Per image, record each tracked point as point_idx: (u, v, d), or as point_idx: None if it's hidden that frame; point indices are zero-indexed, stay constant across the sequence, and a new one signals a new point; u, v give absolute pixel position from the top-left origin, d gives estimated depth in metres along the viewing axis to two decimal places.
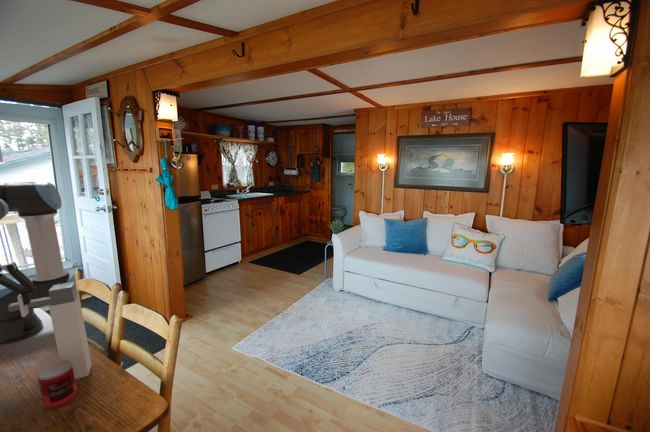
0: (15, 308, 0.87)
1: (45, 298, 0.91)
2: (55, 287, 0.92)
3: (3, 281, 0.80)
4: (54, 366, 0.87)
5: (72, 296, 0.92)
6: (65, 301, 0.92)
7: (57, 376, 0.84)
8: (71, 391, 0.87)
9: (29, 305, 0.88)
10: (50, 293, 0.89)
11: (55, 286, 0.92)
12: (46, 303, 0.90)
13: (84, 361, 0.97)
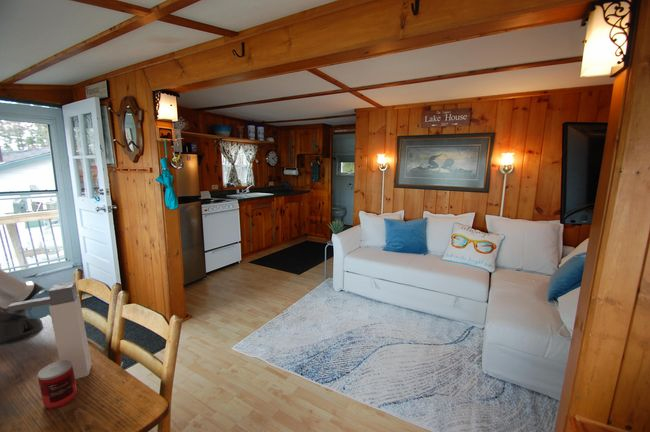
0: (15, 308, 0.87)
1: (45, 298, 0.91)
2: (55, 287, 0.92)
3: None
4: (54, 366, 0.87)
5: (72, 296, 0.92)
6: (65, 301, 0.92)
7: (57, 376, 0.84)
8: (71, 391, 0.87)
9: (29, 305, 0.88)
10: (50, 293, 0.89)
11: (55, 286, 0.92)
12: (46, 303, 0.90)
13: (84, 361, 0.97)
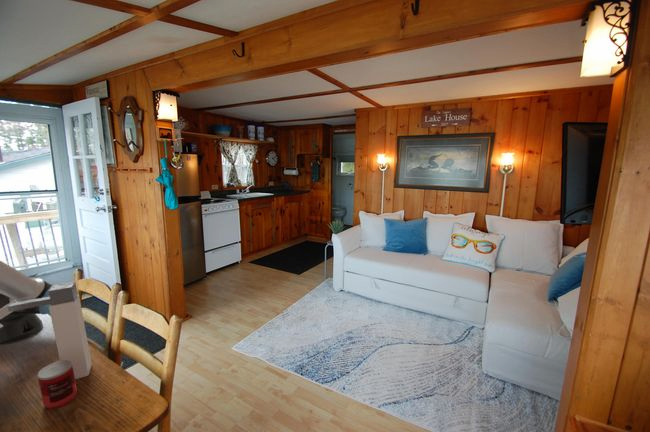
0: (15, 308, 0.87)
1: (45, 298, 0.91)
2: (55, 287, 0.92)
3: None
4: (54, 366, 0.87)
5: (72, 296, 0.92)
6: (65, 301, 0.92)
7: (57, 376, 0.84)
8: (71, 391, 0.87)
9: (29, 305, 0.88)
10: (50, 293, 0.89)
11: (55, 286, 0.92)
12: (46, 303, 0.90)
13: (84, 361, 0.97)
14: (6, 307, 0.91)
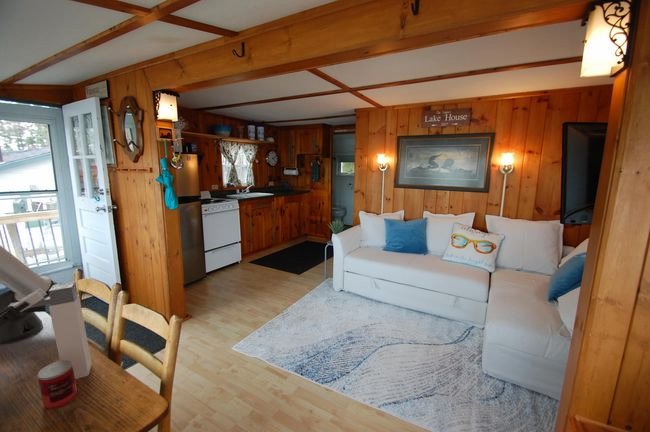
0: None
1: (45, 298, 0.91)
2: (55, 287, 0.92)
3: None
4: (54, 366, 0.87)
5: (72, 296, 0.92)
6: (65, 301, 0.92)
7: (57, 376, 0.84)
8: (71, 391, 0.87)
9: None
10: (50, 293, 0.89)
11: (55, 286, 0.92)
12: (46, 303, 0.90)
13: (84, 361, 0.97)
14: (31, 295, 0.90)
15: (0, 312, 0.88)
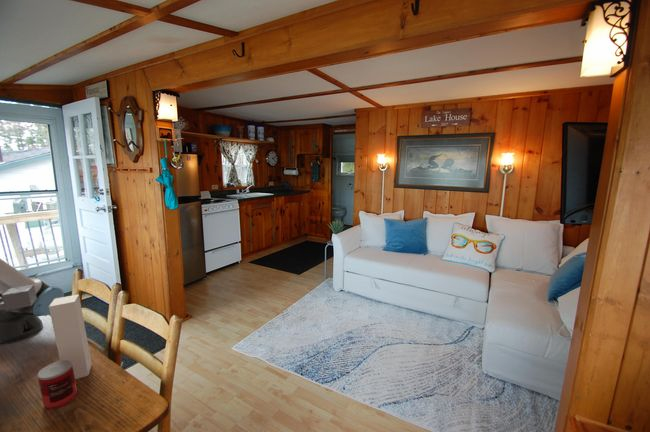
0: None
1: None
2: (11, 291, 0.86)
3: None
4: (54, 366, 0.87)
5: (29, 300, 0.87)
6: (21, 306, 0.86)
7: (57, 376, 0.84)
8: (71, 391, 0.87)
9: None
10: (4, 297, 0.84)
11: (10, 289, 0.87)
12: (0, 308, 0.85)
13: (84, 361, 0.97)
14: None
15: None
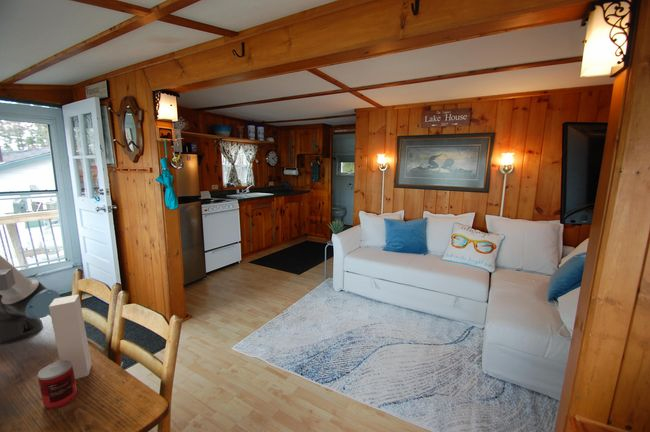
0: None
1: None
2: None
3: None
4: (54, 366, 0.87)
5: (6, 284, 0.85)
6: None
7: (57, 376, 0.84)
8: (71, 391, 0.87)
9: None
10: None
11: None
12: None
13: (84, 361, 0.97)
14: None
15: None
